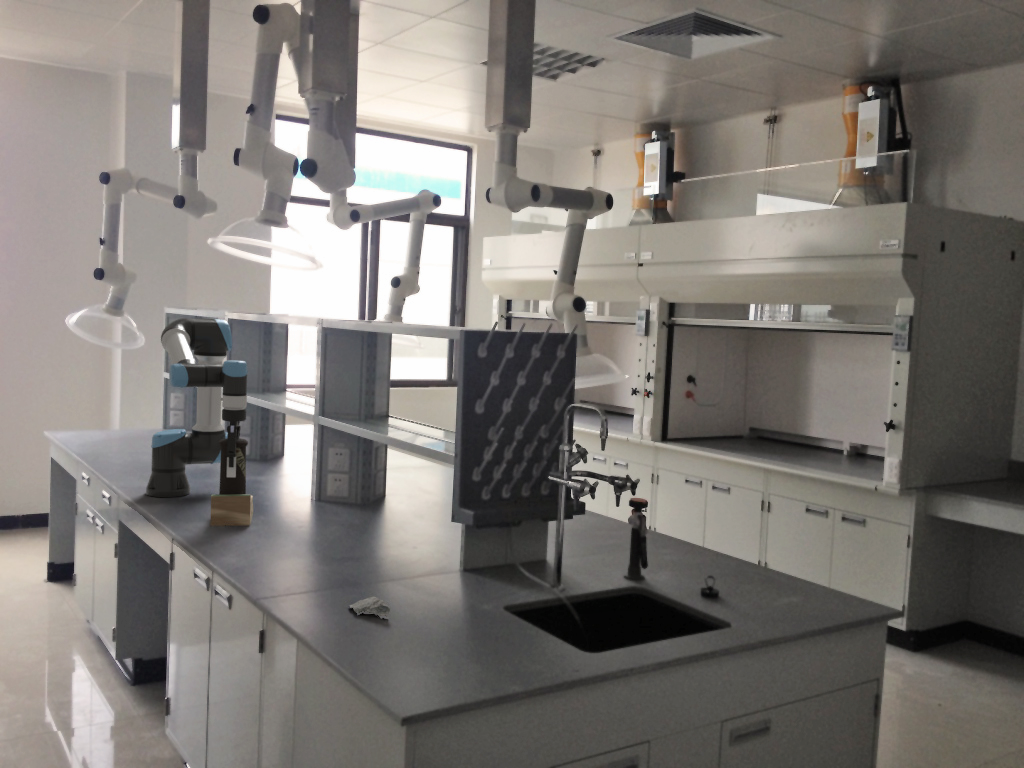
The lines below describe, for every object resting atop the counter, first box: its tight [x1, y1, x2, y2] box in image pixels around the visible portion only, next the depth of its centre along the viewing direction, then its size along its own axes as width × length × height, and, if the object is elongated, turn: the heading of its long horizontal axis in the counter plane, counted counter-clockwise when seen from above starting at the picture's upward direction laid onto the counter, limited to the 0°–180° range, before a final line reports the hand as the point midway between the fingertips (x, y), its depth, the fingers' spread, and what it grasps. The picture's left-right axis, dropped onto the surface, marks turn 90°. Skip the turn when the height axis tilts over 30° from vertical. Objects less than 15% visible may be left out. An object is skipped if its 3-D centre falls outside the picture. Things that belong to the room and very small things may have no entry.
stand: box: [210, 493, 254, 527], centre depth 293 cm, size 17×12×10 cm
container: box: [218, 437, 249, 495], centre depth 291 cm, size 9×9×20 cm
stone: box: [349, 595, 391, 618], centre depth 207 cm, size 6×12×4 cm, turn 31°
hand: (232, 473), depth 291 cm, fingers open, 13 cm apart
